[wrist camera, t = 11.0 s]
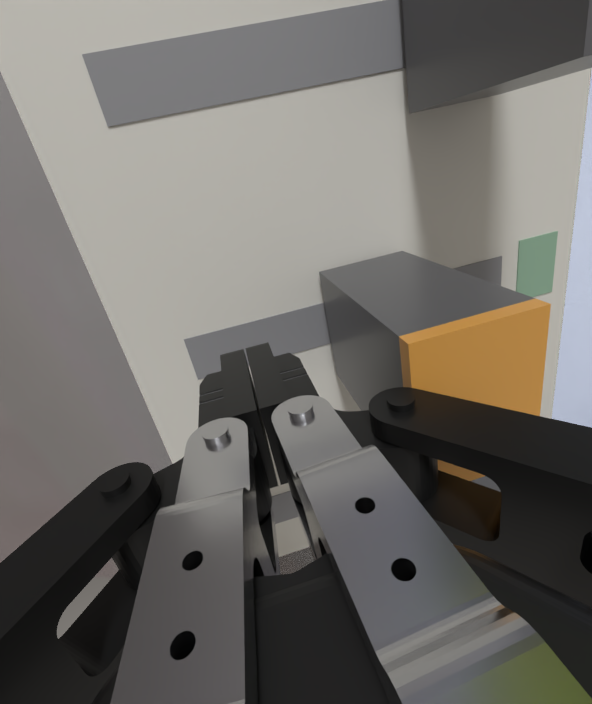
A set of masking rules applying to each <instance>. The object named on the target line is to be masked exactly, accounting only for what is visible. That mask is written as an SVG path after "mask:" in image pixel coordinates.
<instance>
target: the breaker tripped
mask: <svg viewBox="0 0 592 704" xmlns="http://www.w3.org/2000/svg"><path fill="white" fill-rule="evenodd" d="M319 275H320V281H321V287H322V293H323V299H324V304H325V310H326V316H327V322H328V327H329V333H330V339H331V345H332V351H333V356H334V362H335V368H336V374H337V376H338V377H339V378H340V380H341V381H342V383H343V384H344V386H345V387H346V389H347V390H348V392H349V393H350V395H351V396H352V398H353V399H354V401H355V402H356V404H357V405H358V407H359V408H360V410H361V411H365V410H369V402H370V400H371V399H372V398H373V397H374V396H375V395H376V394H378V393H379V392H382V391H384V390H387V389H391V388H397V387H410V388H416V389H420V390H425V391H429V392H433V393H438V394H442V395H447V396H451V397H456V398H460V399H465V400H469V401H474V402H478V403H483V404H487V405H492V406H496V407H501V408H505V409H510V410H514V411H518V412H523V413H527V414H532V415H536V416H540V410H541V400H542V390H543V380H544V369H545V359H546V349H547V339H548V329H549V319H550V308H551V304H550V303H547V302H544V301H541V300H538V299H536V298H533V297H530V296H527V295H524V294H522V293H519V292H516V291H513V290H511V289H508V288H505V287H502V286H499V285H497V284H494V283H491V282H488V281H485V280H483V279H480V278H477V277H474V276H471V275H469V274H466V273H463V272H460V271H457V270H455V269H452V268H449V267H446V266H444V265H441V264H438V263H435V262H432V261H430V260H427V259H424V258H421V257H418V256H416V255H413V254H410V253H407V252H404V251H399V252H395V253H391V254H387V255H384V256H380V257H376V258H372V259H368V260H364V261H360V262H356V263H352V264H348V265H344V266H340V267H336V268H332V269H328V270H324V271H320V272H319ZM438 470H440V471H442V472H445V473H448V474H451V475H454V476H457V477H460V478H462V479H465V480H468V481H472V480H475V479H478V478H481V477H484V476H485V475H482V474H480V473H477V472H474V471H471V470H468V469H465V468H462V467H459V466H456V465H453V464H450V463H447V462H444V461H441V460H438Z"/></svg>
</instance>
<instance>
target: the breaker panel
mask: <svg viewBox="0 0 592 704" xmlns="http://www.w3.org/2000/svg"><path fill="white" fill-rule="evenodd" d="M0 72H1V74H2V76H3V78H4V81H5V83H6V85H7V88H8V90H9V92H10V94H11V97H12V99H13V101H14V103H15V106H16V108H17V110H18V113H19V115H20V117H21V119H22V122H23V124H24V126H25V129H26V131H27V133H28V135H29V138H30V140H31V142H32V144H33V147H34V149H35V151H36V154H37V156H38V158H39V160H40V163H41V165H42V167H43V170H44V172H45V174H46V176H47V179H48V181H49V183H50V185H51V188H52V190H53V192H54V195H55V197H56V199H57V201H58V204H59V206H60V208H61V211H62V213H63V215H64V217H65V220H66V222H67V224H68V226H69V229H70V231H71V233H72V236H73V238H74V240H75V242H76V245H77V247H78V249H79V252H80V254H81V256H82V258H83V261H84V263H85V265H86V267H87V270H88V272H89V274H90V277H91V279H92V281H93V283H94V286H95V288H96V290H97V293H98V295H99V297H100V299H101V302H102V304H103V306H104V308H105V311H106V313H107V315H108V318H109V320H110V322H111V324H112V327H113V329H114V331H115V334H116V336H117V338H118V340H119V343H120V345H121V347H122V349H123V352H124V354H125V356H126V359H127V361H128V363H129V365H130V368H131V370H132V372H133V375H134V377H135V379H136V381H137V384H138V386H139V388H140V391H141V393H142V395H143V397H144V400H145V402H146V404H147V406H148V409H149V411H150V413H151V416H152V418H153V420H154V422H155V425H156V427H157V429H158V432H159V434H160V436H161V438H162V441H163V443H164V445H165V447H166V450H167V452H168V454H169V457H170V459H171V461H172V463H173V464H174V463H175V462H177V461H179V460H180V459H182V458H183V457H184V453H185V448H186V443H187V440H188V439H189V437H190V436H191V434H192V433H193V432H194V431H195V430H197V429H198V420H199V405H200V404H199V397H200V395H199V388H200V384H201V382H202V381H203V380H204V378H205V377H206V375H208V374H212V373H215V372H219V371H221V361H220V355H222V354H226V353H229V352H233V351H237V350H241V349H244V352H245V356H246V359H247V363H248V366H249V362H248V357H247V353H246V349H245V348H248V347H252V346H256V345H259V344H263V343H267V342H268V343H269V345H270V348H271V351H272V353H273V356H274V357H275V356H278V355H282V354H286V353H291V354H293V355H295V356H296V357H298V358H300V360H301V362H302V364H303V366H304V368H305V370H306V372H307V375H308V376H309V378H310V379H311V381H312V383H313V385H314V387H315V389H316V391H317V393H318V395H319V397H322V398H324V399H326V400H327V401H328V402H329V403H330V404H331V406H332V407H333V408H334V409H335V410H340V411H361V410H360V408H359V407H358V405H357V404H356V402H355V401H354V399H353V398H352V396H351V395H350V393H349V392H348V390H347V389H346V387H345V386H344V384H343V383H342V381H341V380H340V378H339V377H338V376H337V374H336V368H335V362H334V356H333V351H332V345H331V339H330V333H329V327H328V322H327V316H326V310H325V304H324V299H323V293H322V287H321V281H320V275H319V272H320V271H324V270H328V269H332V268H336V267H340V266H344V265H348V264H352V263H356V262H360V261H364V260H368V259H372V258H376V257H380V256H384V255H387V254H391V253H395V252H399V251H404V252H407V253H410V254H413V255H416V256H418V257H421V258H424V259H427V260H430V261H432V262H435V263H438V264H441V265H444V266H446V267H449V268H452V269H455V270H457V271H460V272H463V273H466V274H469V275H471V276H474V277H477V278H480V279H483V280H485V281H488V282H491V283H494V284H497V285H499V286H502V287H505V288H508V289H511V290H513V291H516V292H519V293H522V294H524V295H527V296H530V297H533V298H536V299H538V300H541V301H544V302H547V303H550V304H551V308H550V319H549V329H548V339H547V349H546V359H545V369H544V380H543V390H542V400H541V410H540V416H541V417H545V418H550V419H551V417H552V408H553V400H554V391H555V382H556V374H557V365H558V356H559V347H560V339H561V330H562V321H563V312H564V304H565V295H566V286H567V277H568V269H569V260H570V251H571V243H572V234H573V225H574V216H575V208H576V199H577V190H578V181H579V173H580V164H581V155H582V146H583V138H584V129H585V120H586V112H587V103H588V94H589V85H590V77H591V68H589V69H585V70H582V71H578V72H575V73H571V74H568V75H565V76H561V77H558V78H554V79H551V80H547V81H544V82H541V83H537V84H534V85H530V86H527V87H523V88H520V89H517V90H513V91H510V92H506V93H503V94H500V95H495V96H490V97H485V98H481V99H476V100H471V101H467V102H462V103H457V104H453V105H448V106H443V107H439V108H434V109H429V110H425V111H420V112H415V113H410V114H409V107H408V90H407V73H406V55H405V38H404V21H403V4H402V0H0ZM249 370H250V366H249ZM250 374H251V370H250ZM251 377H252V375H251ZM252 381H253V379H252ZM253 384H254V383H253ZM265 431H266V430H265ZM266 436H267V434H266ZM267 440H268V437H267ZM268 444H269V441H268ZM269 448H270V445H269ZM270 452H271V448H270ZM271 457H272V461H273V465H274V469H275V474H276V478H277V482H278V486H277V487H273V488H270V491H271V496H272V509H273V513H274V518H275V527H276V537H277V546H278V556H279V557H281V556H284V555H287V554H290V553H293V552H296V551H299V550H302V549H305V548H308V547H310V546H309V544H308V541H307V539H306V536H305V533H304V531H303V528H302V525H301V523H300V520H299V517H298V515H297V512H296V509H295V506H294V502H293V498H292V494H291V491H290V487H289V484H288V483H286V484H283V485H281V484H280V480H279V477H278V473H277V469H276V466H275V462H274V459H273V455H272V452H271Z"/></svg>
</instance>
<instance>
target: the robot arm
mask: <svg viewBox="0 0 592 704" xmlns="http://www.w3.org/2000/svg"><path fill="white" fill-rule="evenodd" d="M245 349H246V353H247V357H248V362H249V366H250V370H251V374H250V370H249V366H248V363H247V359H246V356H245V352H244V349H241V350H237V351H233V352H229V353H226V354H222V355H220V361H221V371H219V372H215V373H212V374H208V375H206V377H205V378H204V380H203V381H202V382H201V384H200V388H199V395H200V397H199V404H200V405H199V420H198V429H197V430H195V431H194V432H193V433H192V434H191V436H190V437H189V439H188V440H187V443H186V448H185V453H184V457H183V458H182V459H180V460H179V461H177V462H175V463H174V464H172V465H170V466H168V467H166V468H164V469H162V470H160V471H158V472H157V473H155V474H153V472H152V470H151V468H150V467H149V466H148V465H146V464H144V463H139V462H134V463H127V464H123V465H120V466H118V467H115V468H113V469H111V470H109V471H107V472H106V473H104V474H103V475H101V476H100V477H98V478H97V479H96V480H95V481H94V482H92V483H91V484H90V485H89V486H88V487H87V488H86V489H84V490H83V491H82V492H81V493H80V494H79V495H78V496H76V497H75V498H74V499H73V500H72V501H71V502H70V503H68V504H67V505H66V506H65V507H64V508H63V509H62V510H60V511H59V512H58V513H57V514H56V515H55V516H54V517H52V518H51V519H50V520H49V521H48V522H47V523H46V524H44V525H43V526H42V527H41V528H40V529H39V530H38V531H37V532H35V533H34V534H33V535H32V536H31V537H30V538H29V539H27V540H26V541H25V542H24V543H23V544H22V545H21V546H19V547H18V548H17V549H16V550H15V551H14V552H13V553H11V554H10V555H9V556H8V557H7V558H6V559H5V560H3V561H2V562H1V563H0V704H592V428H590V427H586V426H581V425H577V424H572V423H568V422H563V421H559V420H554V419H550V418H545V417H541V416H536V415H532V414H527V413H523V412H518V411H514V410H510V409H505V408H501V407H496V406H492V405H487V404H483V403H478V402H474V401H469V400H465V399H460V398H456V397H451V396H447V395H442V394H438V393H433V392H429V391H425V390H420V389H416V388H410V387H397V388H391V389H387V390H384V391H382V392H379V393H378V394H376V395H375V396H374V397H373V398H372V399H371V400H370V402H369V410H365V411H340V410H335V409H334V408H333V407H332V406H331V404H330V403H329V402H328V401H327V400H326V399H324V398H322V397H319V395H318V393H317V391H316V389H315V387H314V385H313V383H312V381H311V379H310V378H309V376H308V375H307V372H306V370H305V368H304V366H303V364H302V362H301V360H300V358H298V357H296V356H295V355H293V354H291V353H286V354H282V355H278V356H275V357H274V356H273V353H272V351H271V348H270V345H269V343H268V342H267V343H263V344H259V345H256V346H252V347H248V348H245ZM251 375H252V377H251ZM252 379H253V381H252ZM253 383H254V384H253ZM265 430H266V431H265ZM266 434H267V436H266ZM267 437H268V440H267ZM268 441H269V444H268ZM269 445H270V448H271V452H272V455H273V459H274V462H275V466H276V469H277V473H278V477H279V480H280V484H281V485H283V484H286V483H288V484H289V487H290V491H291V494H292V498H293V502H294V506H295V509H296V512H297V515H298V517H299V520H300V523H301V525H302V528H303V531H304V533H305V536H306V539H307V541H308V544H309V546H310V549H311V552H312V554H313V557H314V560H315V561H313V562H312V563H310V564H308V565H307V566H305V567H304V568H302V569H300V570H299V571H297V572H295V573H292V574H286V575H280V565H279V556H278V546H277V537H276V527H275V518H274V513H273V509H272V496H271V491H270V488H273V487H277V486H278V482H277V478H276V474H275V469H274V465H273V461H272V457H271V452H270V448H269ZM438 460H441V461H444V462H447V463H450V464H453V465H456V466H459V467H462V468H465V469H468V470H471V471H474V472H477V473H480V474H482V475H485V476H487V477H488V478H490V479H491V480H492V481H494V482H495V483H496V484H497V486H498V487H499V489H500V491H501V492H500V491H497V490H494V489H491V488H488V487H485V486H482V485H480V484H477V483H474V482H471V481H468V480H465V479H462V478H460V477H457V476H454V475H451V474H448V473H445V472H442V471H440V470H438ZM111 557H112V559H113V560H114V562H115V563H116V565H117V567H118V568H119V571H118V572H117V573H116V574H115V575H114V577H113V578H112V579H111V580H110V581H109V582H108V584H107V585H106V586H105V587H104V588H103V589H102V591H101V592H100V593H99V594H98V595H97V596H96V598H95V599H94V600H93V601H92V602H91V603H90V604H89V606H88V607H87V608H86V609H85V610H84V612H83V613H82V614H81V615H80V616H79V617H78V618H77V620H76V621H75V622H74V623H73V624H72V625H71V627H70V628H69V629H68V630H67V631H66V632H65V633H64V634H63V636H62V637H60V638H59V639H58V638H57V625H58V622H59V619H60V617H61V615H62V613H63V612H64V610H65V609H66V607H67V606H68V605H69V604H70V603H71V602H72V601H73V599H74V598H75V597H76V596H77V595H78V594H79V593H80V592H81V591H82V589H83V588H84V587H85V586H86V585H87V584H88V583H89V582H90V581H91V579H92V578H93V577H94V576H95V575H96V574H97V573H98V572H99V571H100V570H101V568H102V567H103V566H104V565H105V564H106V563H107V562H108V561H109V560H110V558H111Z"/></svg>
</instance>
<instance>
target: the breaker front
mask: <svg viewBox="0 0 592 704" xmlns="http://www.w3.org/2000/svg"><path fill="white" fill-rule="evenodd" d="M402 4H403V21H404V38H405V55H406V73H407V90H408V107H409V114H410V113H415V112H420V111H425V110H429V109H434V108H439V107H443V106H448V105H453V104H457V103H462V102H467V101H471V100H476V99H481V98H485V97H490V96H495V95H500V94H503V93H506V92H510V91H513V90H517V89H520V88H523V87H527V86H530V85H534V84H537V83H541V82H544V81H547V80H551V79H554V78H558V77H561V76H565V75H568V74H571V73H575V72H578V71H582V70H585V69H589V68H592V0H402Z"/></svg>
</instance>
